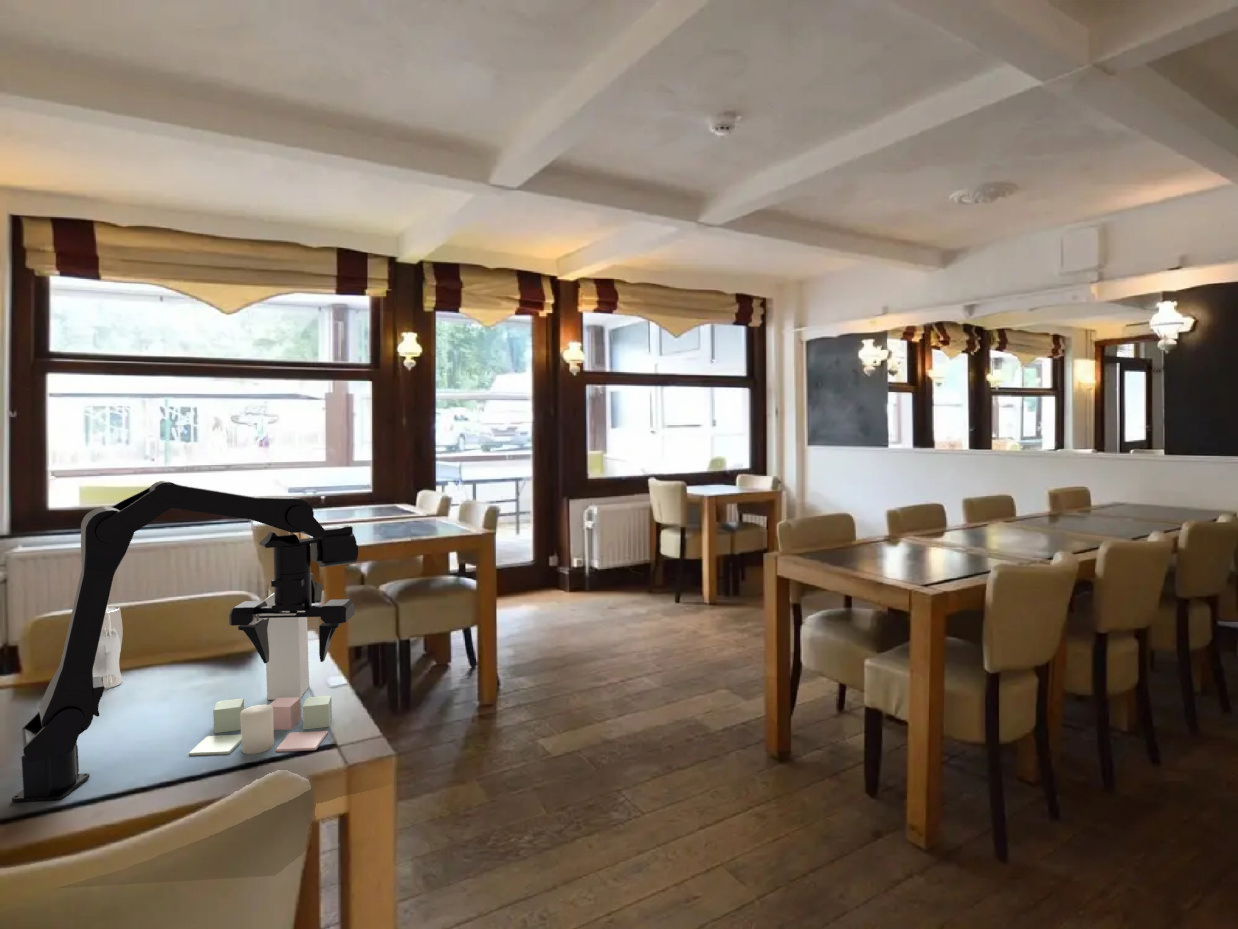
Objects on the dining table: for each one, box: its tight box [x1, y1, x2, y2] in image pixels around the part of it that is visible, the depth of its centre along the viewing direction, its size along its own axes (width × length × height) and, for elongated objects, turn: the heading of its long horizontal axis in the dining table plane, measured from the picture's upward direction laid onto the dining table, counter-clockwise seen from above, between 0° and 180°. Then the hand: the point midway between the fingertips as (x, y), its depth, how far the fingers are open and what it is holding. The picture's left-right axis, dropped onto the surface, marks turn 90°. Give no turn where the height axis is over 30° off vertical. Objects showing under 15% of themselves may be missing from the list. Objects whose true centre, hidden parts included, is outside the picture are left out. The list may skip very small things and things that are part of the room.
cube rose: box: [268, 697, 303, 731], centre depth 122 cm, size 4×4×4 cm
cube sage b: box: [212, 697, 245, 734], centre depth 121 cm, size 4×4×4 cm
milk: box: [263, 592, 310, 701], centre depth 136 cm, size 6×6×22 cm
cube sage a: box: [302, 695, 333, 730], centre depth 123 cm, size 4×4×4 cm
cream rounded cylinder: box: [240, 704, 275, 755], centre depth 114 cm, size 5×5×6 cm
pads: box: [188, 730, 329, 756], centre depth 115 cm, size 6×19×1 cm, turn 95°
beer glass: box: [93, 605, 124, 690], centre depth 141 cm, size 7×7×15 cm
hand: (294, 662), depth 122 cm, fingers open, 9 cm apart
